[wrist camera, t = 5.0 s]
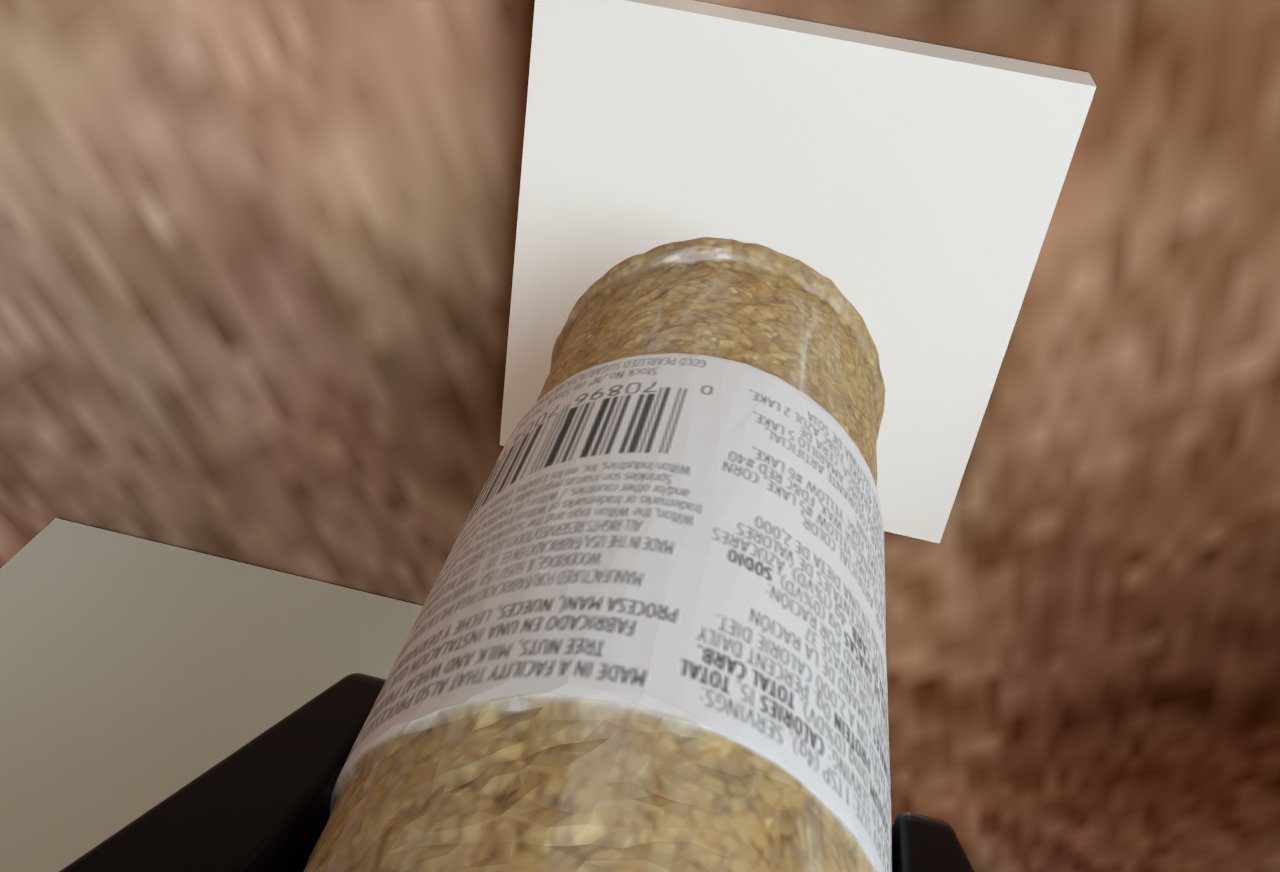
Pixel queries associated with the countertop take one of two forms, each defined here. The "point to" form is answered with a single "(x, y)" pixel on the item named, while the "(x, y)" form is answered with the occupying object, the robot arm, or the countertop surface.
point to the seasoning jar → (654, 603)
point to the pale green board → (153, 675)
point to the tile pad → (799, 194)
